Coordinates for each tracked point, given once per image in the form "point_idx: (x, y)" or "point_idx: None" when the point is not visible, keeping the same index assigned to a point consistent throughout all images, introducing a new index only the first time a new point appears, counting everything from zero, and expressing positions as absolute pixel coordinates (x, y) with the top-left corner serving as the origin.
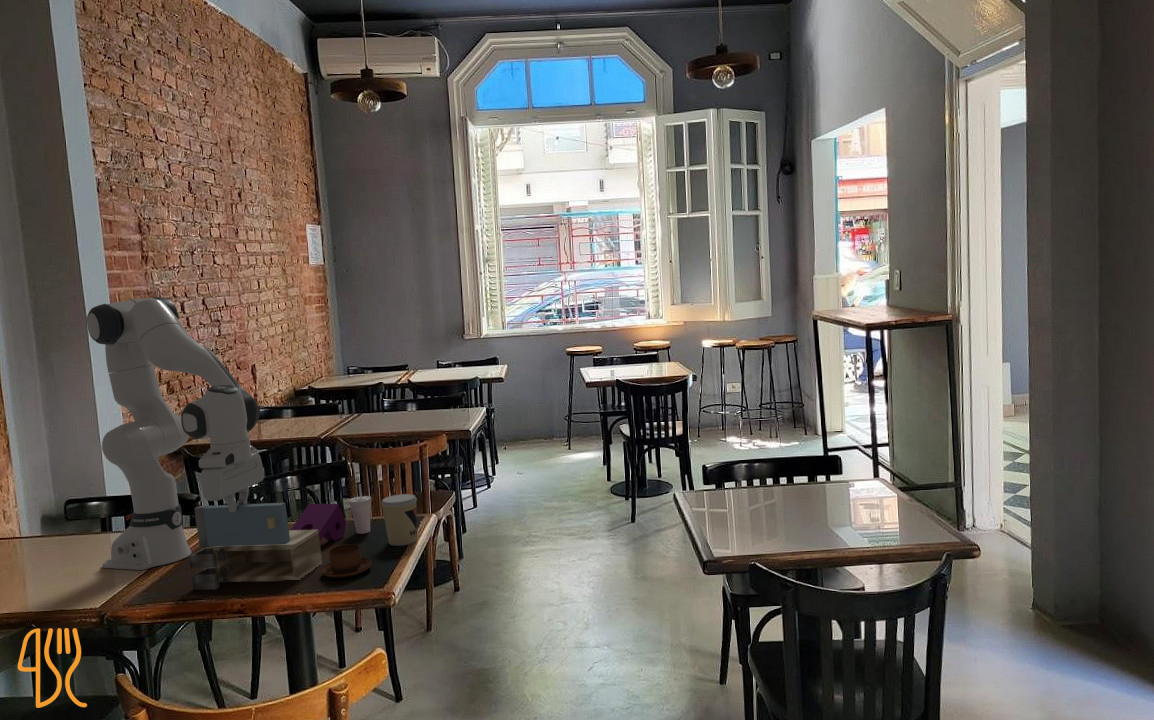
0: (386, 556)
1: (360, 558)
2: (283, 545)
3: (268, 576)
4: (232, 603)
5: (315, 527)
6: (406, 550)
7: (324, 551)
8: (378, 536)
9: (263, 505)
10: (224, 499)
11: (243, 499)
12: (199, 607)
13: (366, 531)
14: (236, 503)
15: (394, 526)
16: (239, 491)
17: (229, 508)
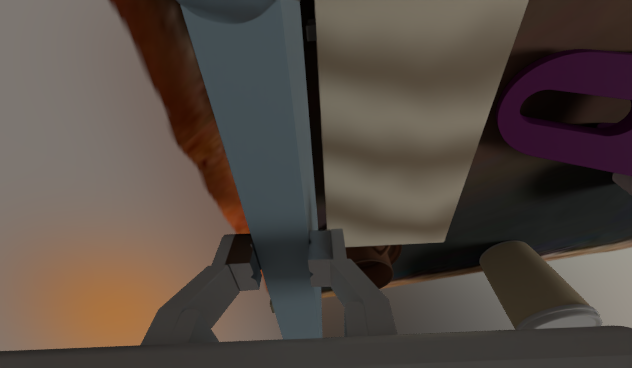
0: (427, 260)
1: (367, 274)
2: (327, 227)
3: (322, 146)
4: (200, 141)
5: (598, 145)
6: (448, 272)
7: (504, 155)
8: (563, 211)
9: (288, 335)
10: (160, 309)
11: (332, 280)
12: (155, 79)
13: (615, 182)
14: (253, 283)
15: (497, 286)
16: (344, 318)
17: (219, 251)
